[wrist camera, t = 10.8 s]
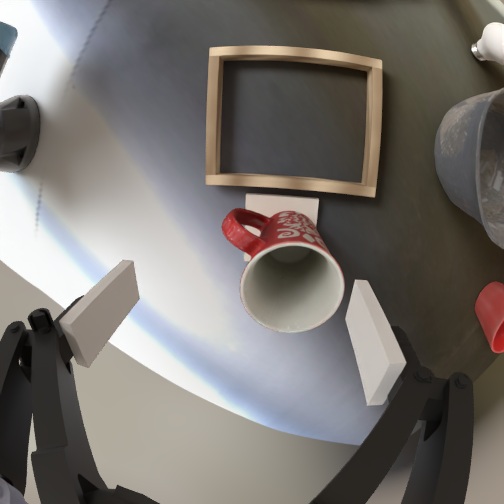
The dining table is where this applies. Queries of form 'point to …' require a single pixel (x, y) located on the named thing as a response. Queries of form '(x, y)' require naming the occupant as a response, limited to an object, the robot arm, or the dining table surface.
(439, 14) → the dining table surface
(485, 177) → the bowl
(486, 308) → the flower pot
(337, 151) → the dining table surface
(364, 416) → the dining table surface
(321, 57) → the holder frame
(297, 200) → the tile
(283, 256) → the mug
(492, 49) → the light bulb
